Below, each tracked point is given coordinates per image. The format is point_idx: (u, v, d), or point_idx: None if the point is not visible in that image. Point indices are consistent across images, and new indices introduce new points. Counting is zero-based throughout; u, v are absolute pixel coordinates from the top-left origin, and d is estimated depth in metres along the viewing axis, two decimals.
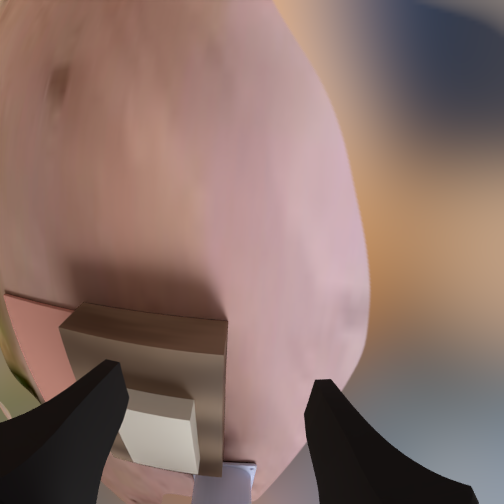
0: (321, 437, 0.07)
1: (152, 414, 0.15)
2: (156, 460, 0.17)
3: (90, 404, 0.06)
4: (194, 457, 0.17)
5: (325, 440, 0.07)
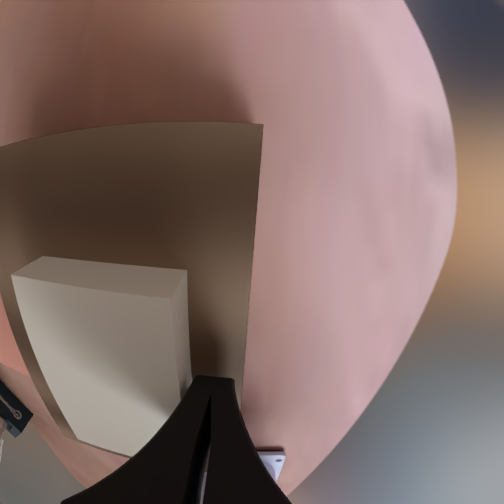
0: None
1: (85, 287, 0.07)
2: (111, 435, 0.09)
3: (202, 428, 0.06)
4: None
5: None
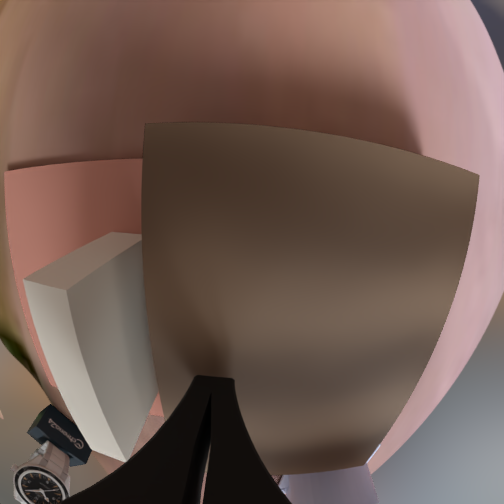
0: None
1: None
2: None
3: (202, 428, 0.06)
4: (67, 404, 0.08)
5: None
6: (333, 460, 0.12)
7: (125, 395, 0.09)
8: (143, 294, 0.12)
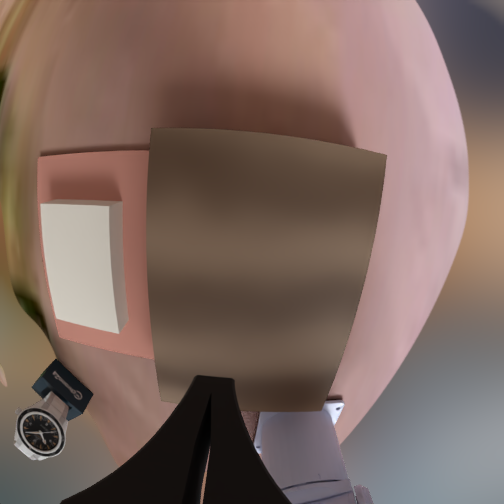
0: None
1: None
2: None
3: (202, 428, 0.06)
4: None
5: None
6: (290, 397, 0.17)
7: (65, 285, 0.16)
8: (98, 245, 0.15)
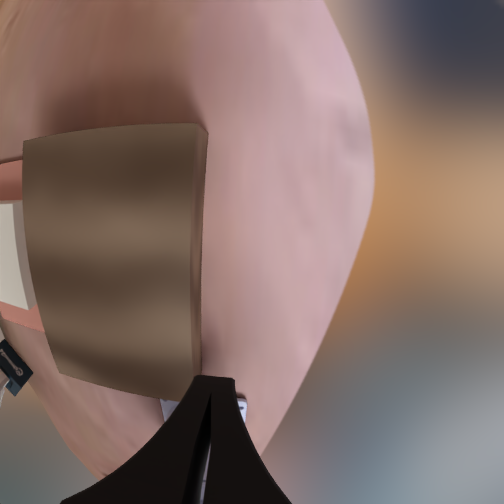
0: None
1: (5, 200, 0.16)
2: None
3: (202, 428, 0.06)
4: None
5: None
6: (155, 383, 0.17)
7: None
8: (8, 235, 0.15)
